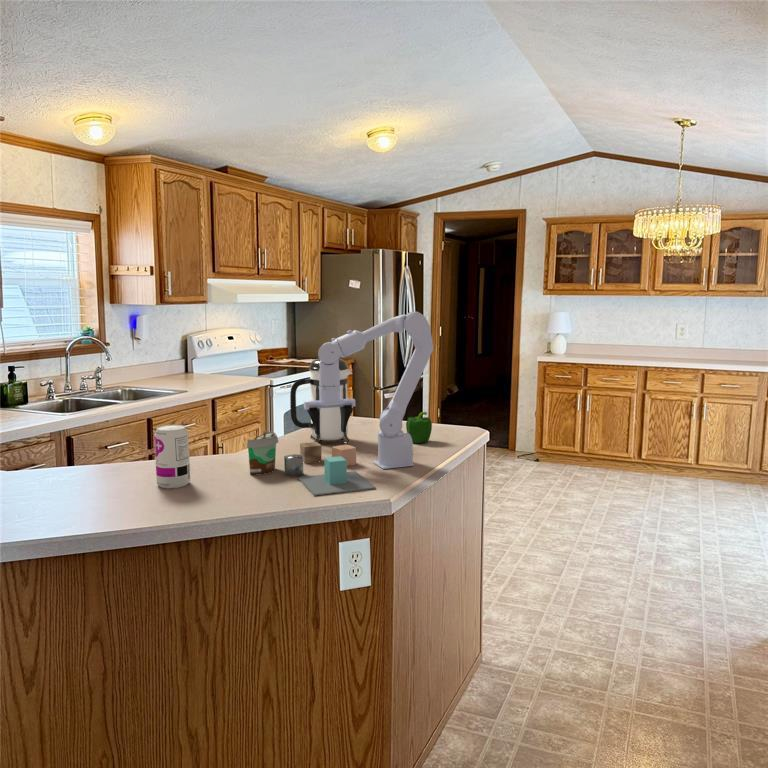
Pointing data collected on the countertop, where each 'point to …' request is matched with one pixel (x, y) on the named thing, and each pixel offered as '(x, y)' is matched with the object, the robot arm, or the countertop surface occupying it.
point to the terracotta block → (345, 453)
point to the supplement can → (172, 456)
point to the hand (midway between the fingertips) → (330, 432)
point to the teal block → (335, 470)
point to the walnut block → (310, 452)
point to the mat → (321, 487)
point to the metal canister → (293, 465)
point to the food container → (262, 453)
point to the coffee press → (328, 416)
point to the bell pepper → (419, 428)
